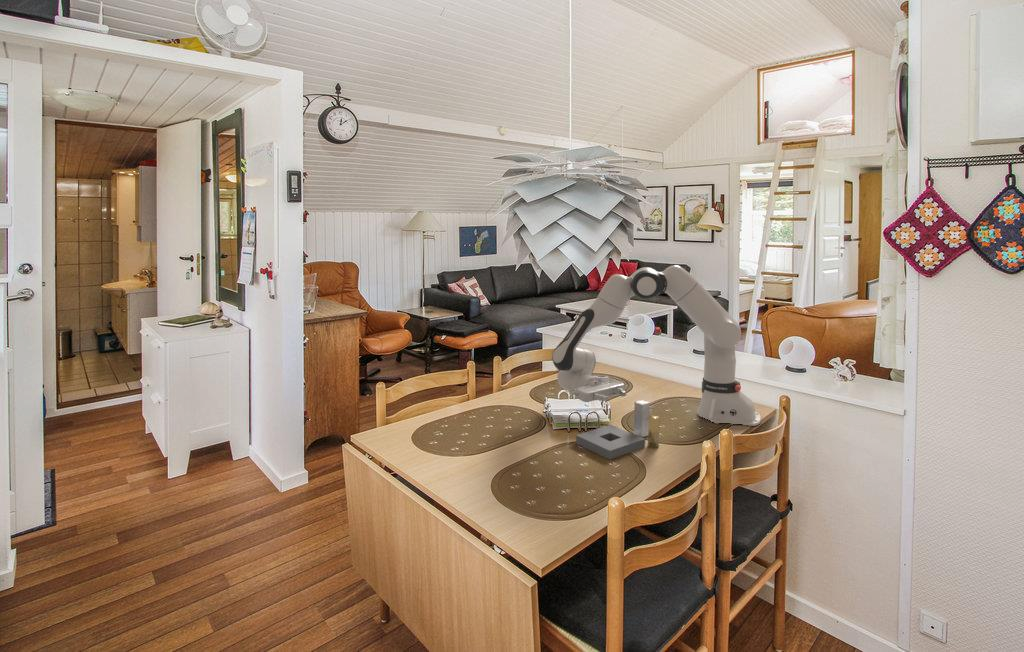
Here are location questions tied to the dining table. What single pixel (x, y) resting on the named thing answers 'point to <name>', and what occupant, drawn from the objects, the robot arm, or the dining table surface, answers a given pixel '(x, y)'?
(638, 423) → the square bit
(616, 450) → the bore block
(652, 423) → the round bit
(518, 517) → the dining table surface
